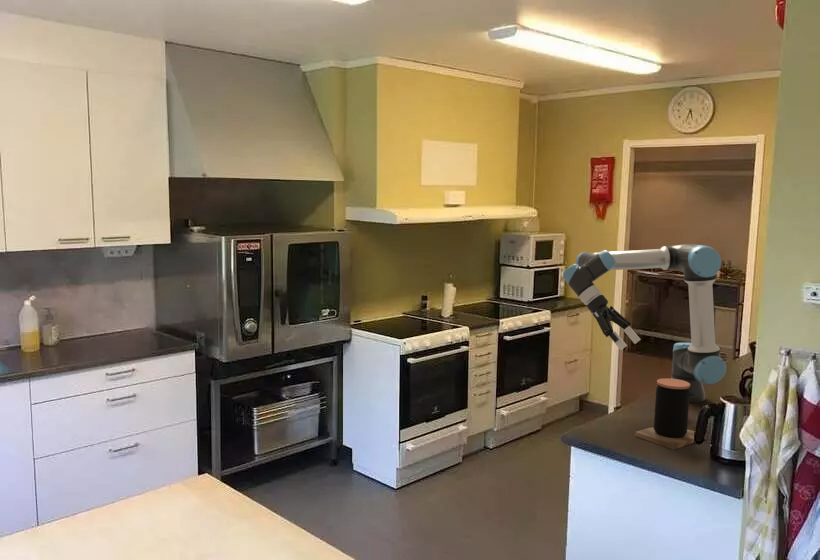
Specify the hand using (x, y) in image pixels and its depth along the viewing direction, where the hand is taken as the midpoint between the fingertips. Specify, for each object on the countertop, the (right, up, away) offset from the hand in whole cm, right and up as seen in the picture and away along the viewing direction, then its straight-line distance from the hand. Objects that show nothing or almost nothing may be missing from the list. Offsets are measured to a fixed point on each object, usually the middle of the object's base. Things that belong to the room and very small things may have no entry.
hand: (631, 344), depth 246 cm
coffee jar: (+8, -29, -15) cm, 34 cm away
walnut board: (+8, -30, -15) cm, 35 cm away
